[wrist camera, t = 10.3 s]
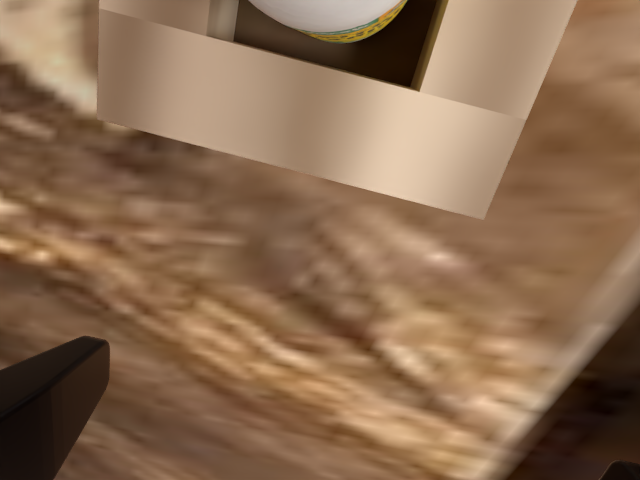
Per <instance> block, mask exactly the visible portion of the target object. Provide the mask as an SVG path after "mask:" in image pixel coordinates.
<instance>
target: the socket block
mask: <svg viewBox="0 0 640 480" xmlns="http://www.w3.org/2000/svg"><path fill="white" fill-rule="evenodd" d="M576 2H577V0H437V2H436V5H435V8H434V11H433V15H432V18H431V21H430V24H429V28H428V31H427V34H426V37H425V41H424V44H423V47H422V50H421V54H420V57H419V60H418V63H417V67H416V70H415V73H414V76H413V80H412V83H411V86H410V87H406V86H403V85H399V84H395V83H391V82H387V81H383V80H380V79H376V78H372V77H368V76H364V75H361V74H357V73H353V72H349V71H345V70H341V69H338V68H334V67H330V66H326V65H322V64H318V63H315V62H311V61H307V60H303V59H299V58H295V57H292V56H288V55H284V54H280V53H276V52H273V51H269V50H265V49H261V48H257V47H253V46H250V45H246V44H242V43H238V42H234V41H233V40H234V33H235V26H236V19H237V11H238V4H239V0H99V34H98V87H97V119H98V120H102V121H106V122H110V123H114V124H118V125H121V126H125V127H129V128H133V129H137V130H141V131H144V132H148V133H152V134H156V135H160V136H164V137H167V138H171V139H175V140H179V141H183V142H187V143H190V144H194V145H198V146H202V147H206V148H210V149H213V150H217V151H221V152H225V153H229V154H233V155H236V156H240V157H244V158H248V159H252V160H256V161H259V162H263V163H267V164H271V165H275V166H279V167H282V168H286V169H290V170H294V171H298V172H302V173H305V174H309V175H313V176H317V177H321V178H325V179H329V180H332V181H336V182H340V183H344V184H348V185H352V186H355V187H359V188H363V189H367V190H371V191H375V192H378V193H382V194H386V195H390V196H394V197H398V198H401V199H405V200H409V201H413V202H417V203H421V204H424V205H428V206H432V207H436V208H440V209H444V210H447V211H451V212H455V213H459V214H463V215H467V216H470V217H474V218H478V219H482V220H484V217H485V215H486V213H487V210H488V208H489V206H490V203H491V201H492V199H493V196H494V194H495V192H496V189H497V187H498V185H499V182H500V180H501V178H502V175H503V173H504V171H505V168H506V166H507V164H508V161H509V159H510V157H511V154H512V152H513V150H514V147H515V145H516V143H517V140H518V138H519V136H520V133H521V131H522V129H523V126H524V124H525V122H526V119H527V117H528V115H529V112H530V110H531V108H532V105H533V103H534V101H535V98H536V96H537V94H538V91H539V89H540V87H541V84H542V82H543V80H544V77H545V75H546V73H547V70H548V68H549V66H550V63H551V61H552V59H553V56H554V54H555V52H556V49H557V47H558V45H559V42H560V40H561V37H562V35H563V33H564V30H565V28H566V26H567V23H568V21H569V19H570V16H571V14H572V12H573V9H574V7H575V5H576Z"/></svg>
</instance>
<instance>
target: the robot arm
mask: <svg viewBox="0 0 640 480" xmlns="http://www.w3.org/2000/svg"><path fill="white" fill-rule="evenodd" d="M109 369H110V346H109V343H108V342H107V341H106V340H103V339H99V338H95V337H90V336H82V337H79V338H76V339H74V340H72V341H69V342H67V343H64V344H62V345H60V346H57V347H55V348H52V349H50V350H48V351H45V352H43V353H40V354H38V355H36V356H33V357H31V358H28V359H26V360H23V361H21V362H19V363H16V364H14V365H11V366H9V367H7V368H4V369H2V370H0V480H53V479H54V478H55V476H56V475H57V473H58V471H59V470H60V468H61V466H62V465H63V463H64V461H65V460H66V458H67V456H68V454H69V453H70V451H71V449H72V447H73V446H74V444H75V442H76V440H77V439H78V437H79V435H80V433H81V432H82V430H83V428H84V426H85V425H86V423H87V421H88V419H89V418H90V416H91V414H92V413H93V411H94V409H95V407H96V406H97V404H98V402H99V400H100V399H101V397H102V395H103V393H104V392H105V390H106V387H107V385H108V381H109ZM599 480H640V465H639V464H636V463H632V462H627V461H623V460H616V461H613V462H612V463H611V464H610V465H609V467H608V468H607V469H606V471H605V472H604V474H603V475H602V477H601V478H600V479H599Z"/></svg>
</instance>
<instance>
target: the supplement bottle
mask: <svg viewBox="0 0 640 480" xmlns="http://www.w3.org/2000/svg"><path fill="white" fill-rule="evenodd" d="M249 1H250V2H251V3H252V4H253V5H254V6H255V7H256V8H258V9H259V10H261V11H262V12H263V13H265V14H266V15H268V16H269V17H271V18H273V19H274V20H276V21H278V22H280V23H281V24H283V25H285V26H287V27H290V28H293V29H295V30H297V31H300V32H302V33H304V34H307V35H309V36H311V37H313V38H316V39H319V40H322V41H326V42H331V43H351V42H356V41H359V40H362V39H365V38H367V37H369V36H371V35H373V34H375V33H377V32H378V31H380V30H381V29H383V28H384V27H385V26H386V25H388V24H389V23H390V22H391V21H392V20H393V19H394V18H395V17H396V15H397V14H398V13H399V12H400V11H401V9H402V8H403V7H404V5H405V4H406V2H407V1H408V0H249Z"/></svg>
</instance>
